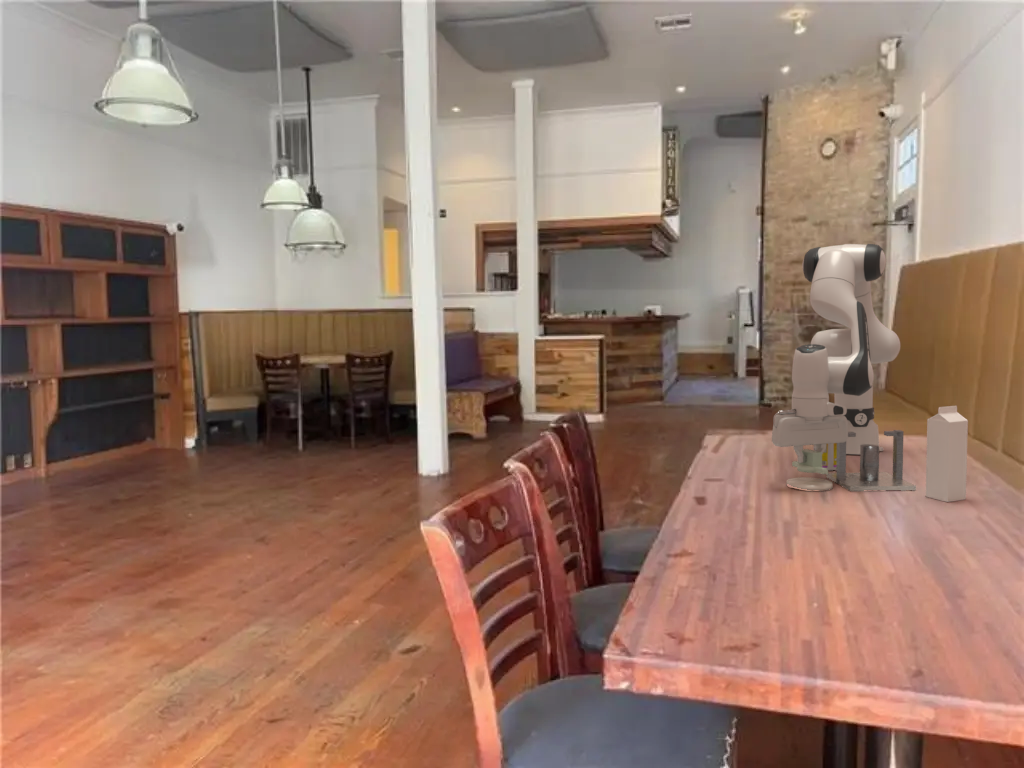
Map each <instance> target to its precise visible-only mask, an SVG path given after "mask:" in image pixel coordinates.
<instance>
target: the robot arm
mask: <svg viewBox="0 0 1024 768" xmlns="http://www.w3.org/2000/svg"><path fill="white" fill-rule="evenodd" d="M886 265H887V258H886V254H885V252H884V249H883V248H882V246H880V245H878V244H875V243H874V244H873V243H867V244H863V243H862V244H860V243H845V244H838V245H830V246H825V247H823V246H822V247H821V246H816V247H813V248H810V249H808V251H807V252H806V253H805V254H804V257H803V260H802V265H801V266H802V272H803V276H804V278H805V280H807V282H810V283H811V284H810V285H811V286H810V292H809V303H810V307H811V308H812V310H813V311H814V312H815V313H816V314H817V315H818V316H820V317H821V318H823V319H825V320H827V321H830V322H832V323H833V322H834V323H837V324H840V325H842V326H845V327H846V328H831V329H827V330H825V329H824V330H821V331H817V332H816V333H815V334H814V335H813V337H812V339H811V341H810V344H805V345H804V344H803V345H799V346H798V347H796V348H795V349H794V354H793V360H792V369H791V382H792V386H793V389H792V393H791V409H785V410H784V409H779V410H778V411H777V412H776V413H775V414H774V415H773V426H772V431H771V442H772V443H771V444H773V445H774V446H776V447H780V448H787V447H793V450H794V451H793V452H794V453H795V454H796V456H797V461H798V462H799V463H806V462H807V460H806V459H807V456H804V455H803V453H802V451H801V450H803V449H804V446H814V445H816V447H818V448H817V450H816V451H818V452H822V454H823V452H824V450H825V449H826V444H831V443H844V442H846V455H860V445H863V444H872V445H878V446H879V452H883V451H884V447H883V446H880V435H879V425H878V424H877V423H876V422H875V421H874V419H875V408H874V407H873V403H874V402H873V401H874V399H873V396H874V380H875V378H874V375H875V373H874V368H873V366H872V365H875V364H877V365H878V364H883V363H889V362H893V361H894V360H895V359H896V358H897V357H898V356H899V353H900V351H901V341H900V338H899V335H897V333H896V332H895V331H894V330H892V329H890V328H888V327H887V326H885V325H884V324H883V323H882V322H881V321H880V320H879V318H878V317H877V315H876V314H875V313H876V312H875V311H874V305H873V299H872V283H871V282H873V281H876V280H878V279H879V278H880V277H882V276H883V273H884V271H885V269H886ZM830 394H834V402H831V401H830V396H829V395H830ZM848 432H855V433H856V437H848Z"/></svg>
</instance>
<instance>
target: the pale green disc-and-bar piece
mask: <svg viewBox="0 0 1024 768" xmlns="http://www.w3.org/2000/svg"><path fill="white" fill-rule="evenodd" d="M801 451H802V453H803V455H804V456H807V459H806V460H807V462H806V463H799V462H798V460H796V461H795V460H794V461H792V462H791V465H792V467H794V468H797V469H796V471H798V472H800V473H810V474H814V473H815V474H816V473H817V474H821V475H826V474H828V473H829V471H828V469H826V468H822V452H818V451H814V449H813V450H812V449H808V448H805V449H804V448H803V450H801Z"/></svg>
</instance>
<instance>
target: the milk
mask: <svg viewBox="0 0 1024 768" xmlns="http://www.w3.org/2000/svg"><path fill="white" fill-rule="evenodd" d="M926 426H927V427H926V456H925V457H926V461H925V463H926V465H925V497H926V498H930V499H933V500H937V501H942V502H946V503H952V502H957V501H963V500H966V499H967V469H968V468H967V466H968V465H967V464H968V463H967V462H968V436H969V435H968V433H969V430H968V429H969V427H968V426H969V420H968V419H967V418H965V417H964V416H963V415H962V414H960V413H959V412H958V406H957V405H950V406H949V405H948V406H939V407H938V411H937V413H936V414H934V415H933V416H931V417H929V418H927V423H926Z"/></svg>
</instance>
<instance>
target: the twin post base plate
mask: <svg viewBox="0 0 1024 768" xmlns="http://www.w3.org/2000/svg"><path fill="white" fill-rule="evenodd" d="M883 435H884V436H886V437H893V439H892V440H893V441H892V442H893V443H892V450H893V451H892V474H891V473H889V472H887V471H885V472H884V471H882V472H881V471H880V451H879V446H880V445H879V446H878V445H872V444H863V445H860V454H859V458H860V459H859V472H847V454H846V442H844V443H837V469H836V470H835V471H836V472H834V473H833V472H830V473H829V472H828V474H825V477H827V478H826V479H828V478H829V479H828V480H830V479H831V480H832V481H831V480H830V481H831V482H833V481H834V482H833V483H835V482H836V483H838V484H840V485H841V486H840V485H839V486H840V487H842V486H843V487H845V488H846V489H845V488H844V489H845V490H847V489H848V490H847V491H849V490H850V491H851V492H865V491H864V490H901V491H900V492H903V491H904V492H905V491H906V490H912V491H917V486H916V484H914V483H911V482H908V481H907V480H904V479H903V478H904V477H903V476H904V475H903V474H904V473H903V472H904V466H903V465H904V431H903V430H901V429H893V430H883ZM848 437H856V433H855V432H848ZM836 483H835V484H836ZM838 484H837V485H838ZM843 487H842V488H843ZM850 491H849V492H850Z"/></svg>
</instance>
